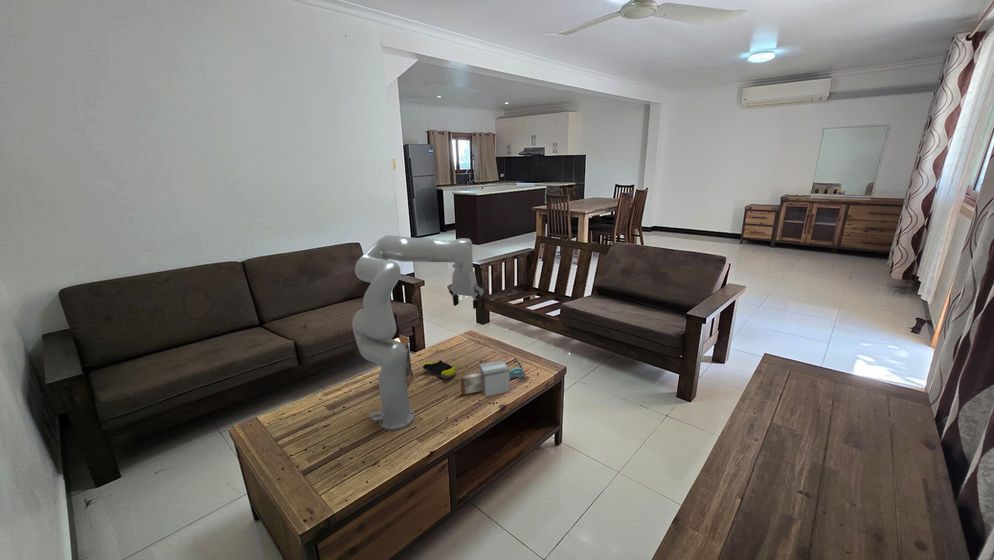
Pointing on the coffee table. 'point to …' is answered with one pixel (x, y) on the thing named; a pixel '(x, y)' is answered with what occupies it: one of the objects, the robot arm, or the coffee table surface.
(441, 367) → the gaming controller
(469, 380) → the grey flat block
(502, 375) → the block
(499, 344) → the coffee table surface
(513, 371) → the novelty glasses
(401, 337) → the whiskey bottle
